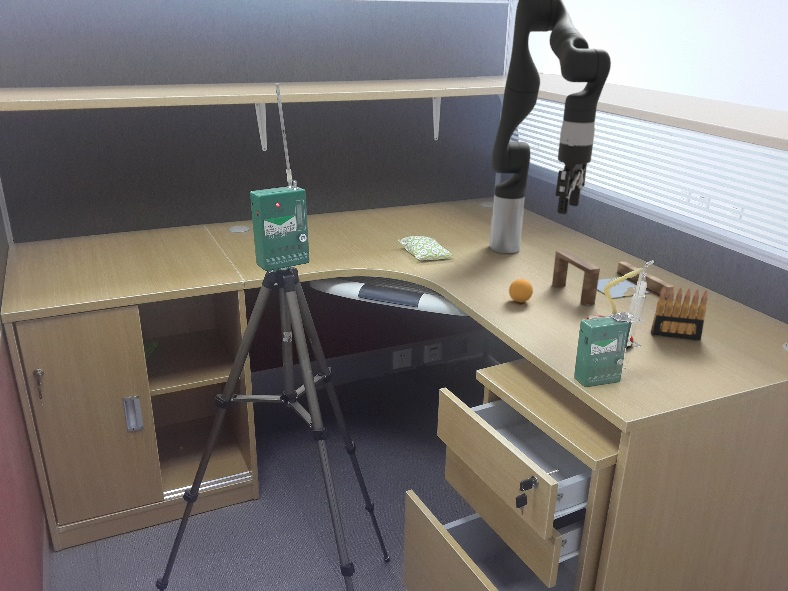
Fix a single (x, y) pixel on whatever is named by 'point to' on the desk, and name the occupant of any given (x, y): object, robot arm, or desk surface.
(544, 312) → the desk surface
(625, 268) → the stopper wall
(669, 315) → the ammunition clip
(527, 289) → the ball
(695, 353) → the desk surface
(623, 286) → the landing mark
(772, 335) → the desk surface
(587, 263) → the bridge
